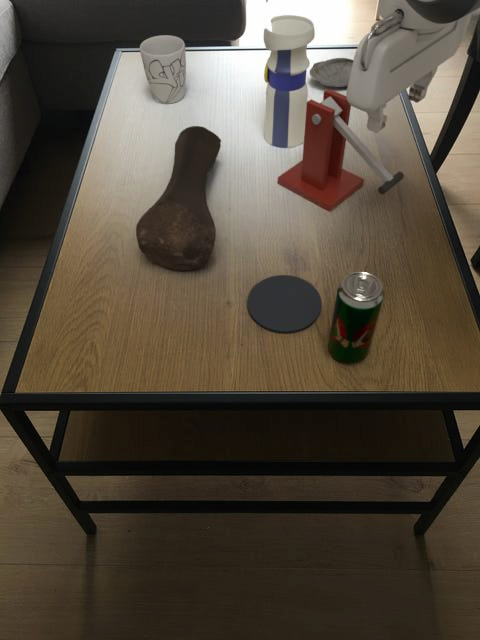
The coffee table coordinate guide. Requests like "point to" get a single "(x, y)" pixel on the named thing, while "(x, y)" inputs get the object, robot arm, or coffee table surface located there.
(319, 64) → the seashell
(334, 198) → the bracket
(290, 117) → the water bottle
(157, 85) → the mug
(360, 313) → the soda can
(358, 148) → the lever
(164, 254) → the dark brown bone
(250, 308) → the coaster
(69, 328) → the coffee table surface
